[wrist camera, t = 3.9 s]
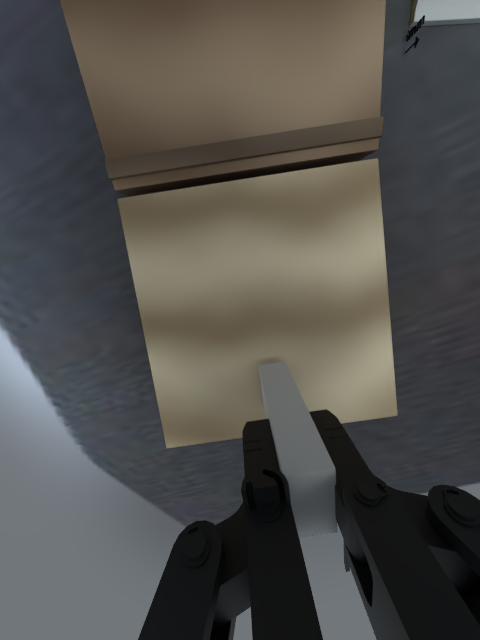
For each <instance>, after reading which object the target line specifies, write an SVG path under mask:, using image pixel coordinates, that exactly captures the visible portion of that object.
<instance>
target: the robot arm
mask: <svg viewBox="0 0 480 640" xmlns="http://www.w3.org/2000/svg"><path fill="white" fill-rule="evenodd" d="M258 368H259V376H260V383H261V390H262V398H263V405H264V410H265V415H266V419H262V420H255V421H248V422H246V424H245V426H244V428H243V431H242V436H243V451H244V468H245V478H244V480H243V482H242V488H241V492H242V497H243V503H242V505H241V507H240V508H239V509H238V511H237V512H236V513H235V514H234V515H232V516H231V517H229V518H228V519H226V520H224V521H222V522H220V523H219V524H217V525H214V524H213V523H211V522H208V521H205V520H204V521H196V522H194V523H192V524H190V525H188V526H187V527H186V528H185V529H184V530H183V531H182V532H181V533H180V534H179V536H178V538H177V540H176V542H175V543H174V545H173V548H172V551H171V553H170V556H169V559H168V561H167V564H166V567H165V569H164V572H163V575H162V577H161V580H160V583H159V585H158V588H157V591H156V593H155V596H154V599H153V601H152V604H151V607H150V609H149V612H148V615H147V617H146V620H145V623H144V625H143V628H142V630H141V633H140V636H139V639H138V640H233V636H234V628H235V622H236V617H237V616H238V615H239V614H240V613H242V612H244V611H245V610H247V609H248V608H249V607H251V618H252V635H253V640H323V638H322V634H321V630H320V625H319V621H318V617H317V612H316V609H315V604H314V600H313V596H312V591H311V587H310V583H309V579H308V574H307V570H306V566H305V562H304V557H303V554H302V549H301V545H300V540H299V538H300V537H307V536H314V535H321V534H328V533H335V532H337V523H338V525H339V528H340V531H341V533H342V536H343V538H344V564H345V569H346V572H347V571H350V568H351V571H352V574H353V576H354V579H355V582H356V585H357V587H358V590H359V593H360V595H361V598H362V600H363V604H364V606H365V609H366V612H367V615H368V617H369V620H370V622H371V625H372V628H373V631H374V634H375V636H376V639H377V640H480V500H478V499H477V498H476V497H474V496H473V495H471V494H469V493H468V492H466V491H464V490H461V489H459V488H457V487H454V486H448V485H438V486H434V487H433V488H432V489H431V490H430V491H429V493H428V496H425V495H420V494H414V493H408V492H403V491H399V490H396V489H393V488H391V487H389V486H387V485H386V483H385V482H384V481H382V480H381V479H379V478H378V477H376V476H374V475H373V474H372V472H371V471H370V470H369V468H368V466H367V465H366V463H365V462H364V460H363V458H362V457H361V455H360V454H359V452H358V450H357V449H356V447H355V445H354V444H353V442H352V441H351V439H350V437H348V434H347V433H346V431H345V429H343V426H342V424H341V423H340V421H339V420H338V418H337V417H336V416H335V415H334V414H333V413H331V412H330V411H329V410H327V409H324V410H318V411H311V412H309V411H308V409H307V407H306V405H305V403H304V400H303V398H302V396H301V394H300V392H299V390H298V388H297V386H296V383H295V381H294V379H293V377H292V375H291V373H290V371H289V369H288V366H287V364H286V362H285V361H284V362H277V363H271V364H264V365H258Z"/></svg>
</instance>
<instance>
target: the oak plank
mask: <svg viewBox="0 0 480 640" xmlns="http://www.w3.org/2000/svg"><path fill="white" fill-rule="evenodd" d="M117 200H118V205H119V210H120V215H121V221H122V226H123V231H124V236H125V241H126V246H127V251H128V256H129V261H130V266H131V271H132V276H133V281H134V286H135V291H136V296H137V301H138V306H139V311H140V316H141V321H142V326H143V331H144V336H145V341H146V346H147V351H148V357H149V362H150V367H151V372H152V377H153V382H154V387H155V392H156V397H157V402H158V407H159V412H160V417H161V422H162V427H163V432H164V437H165V442H166V447H167V448H173V447H180V446H187V445H194V444H201V443H208V442H215V441H222V440H229V439H236V438H243V436H242V431H243V428H244V426H245V424H246V422H248V421H255V420H262V419H266V415H265V410H264V405H263V398H262V390H261V383H260V376H259V368H258V365H264V364H271V363H277V362H284V361H285V362H286V364H287V366H288V369H289V371H290V373H291V375H292V377H293V379H294V381H295V383H296V386H297V388H298V390H299V392H300V394H301V396H302V398H303V400H304V403H305V405H306V407H307V409H308V411H309V412H311V411H318V410H324V409H327V410H329V411H330V412H331V413H333V414H334V415H335V416H336V417H337V418H338V420H339V421H340V423H348V422H355V421H362V420H369V419H376V418H383V417H390V416H397V402H396V389H395V376H394V363H393V350H392V336H391V323H390V310H389V297H388V284H387V271H386V257H385V244H384V231H383V218H382V205H381V192H380V178H379V165H378V158H376V159H369V160H363V161H357V162H350V163H344V164H337V165H331V166H324V167H318V168H312V169H305V170H299V171H292V172H286V173H280V174H273V175H267V176H260V177H254V178H247V179H241V180H235V181H228V182H222V183H215V184H209V185H202V186H196V187H190V188H183V189H177V190H170V191H164V192H158V193H151V194H145V195H138V196H132V197H125V198H119V199H117Z"/></svg>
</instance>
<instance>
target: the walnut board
mask: <svg viewBox="0 0 480 640" xmlns="http://www.w3.org/2000/svg"><path fill="white" fill-rule="evenodd" d="M60 3H61V7H62V10H63V13H64V17H65V20H66V24H67V27H68V31H69V34H70V38H71V41H72V45H73V48H74V51H75V55H76V58H77V62H78V65H79V69H80V72H81V76H82V79H83V82H84V86H85V89H86V93H87V96H88V100H89V103H90V107H91V110H92V114H93V117H94V120H95V124H96V127H97V131H98V134H99V138H100V141H101V145H102V148H103V152H104V155H105V158H106V160H104V163H105V167H106V170H107V174H108V177H109V179H111V180H112V183H113V186H114V190H115V191H118V192H120V193H123V194H125V195H128V196H135V195H142V194H148V193H155V192H161V191H167V190H174V189H180V188H187V187H193V186H199V185H206V184H212V183H219V182H225V181H232V180H238V179H244V178H251V177H257V176H264V175H270V174H277V173H283V172H289V171H296V170H302V169H309V168H315V167H321V166H328V165H334V164H341V163H347V162H354V161H359V160H361V159H362V158H364V157H366V156H368V155H369V154H371V153H373V152H375V151H376V150H378V147H379V137H381V136H383V117H384V116H380V107H381V87H382V67H383V47H384V27H385V6H386V0H60Z"/></svg>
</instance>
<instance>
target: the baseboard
mask: <svg viewBox="0 0 480 640" xmlns="http://www.w3.org/2000/svg"><path fill="white" fill-rule="evenodd" d="M469 23H480V0H413V4H412V11H411V19H410V26H409V27H414V28H412V29H411V30H410V32H409V31H408V33H409V35H407V41H408V40H409V39H410V37H412V36H413V31H414V34H415V33H416V31H418V28H420V27H421V26H433V25H451V24H469ZM416 26H417V28H416ZM418 41H419V38H418V37H416V40H415V43H414V44H415V47H414V48H416V45H417V43H418ZM414 44H413V45H414ZM413 45H412V46H413ZM412 46H411V47H412ZM411 47H410V48H411ZM410 48H409V49H408V50H407V51H406V52H405V53H407V52H408V51H409V50H410Z"/></svg>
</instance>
